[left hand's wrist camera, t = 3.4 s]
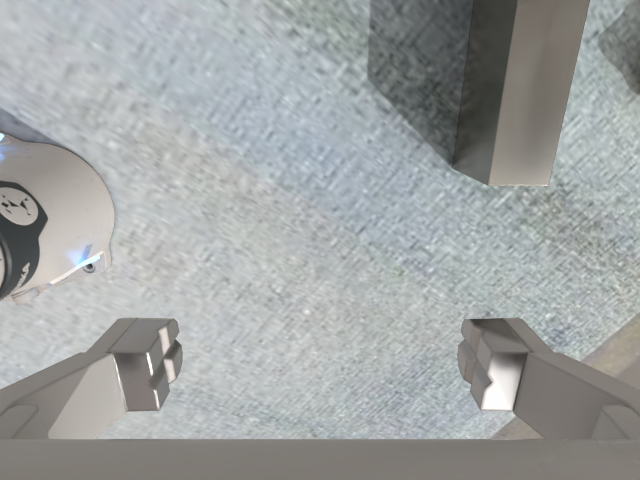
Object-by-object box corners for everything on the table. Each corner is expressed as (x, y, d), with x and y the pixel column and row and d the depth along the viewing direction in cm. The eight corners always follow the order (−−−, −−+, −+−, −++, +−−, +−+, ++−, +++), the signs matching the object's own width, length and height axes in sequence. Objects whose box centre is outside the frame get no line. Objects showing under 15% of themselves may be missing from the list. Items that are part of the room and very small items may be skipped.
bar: (500, 168, 41) (548, 185, 33) (452, 168, 41) (487, 185, 33) (545, -89, 33) (625, -158, 25) (485, -89, 33) (544, -158, 25)
